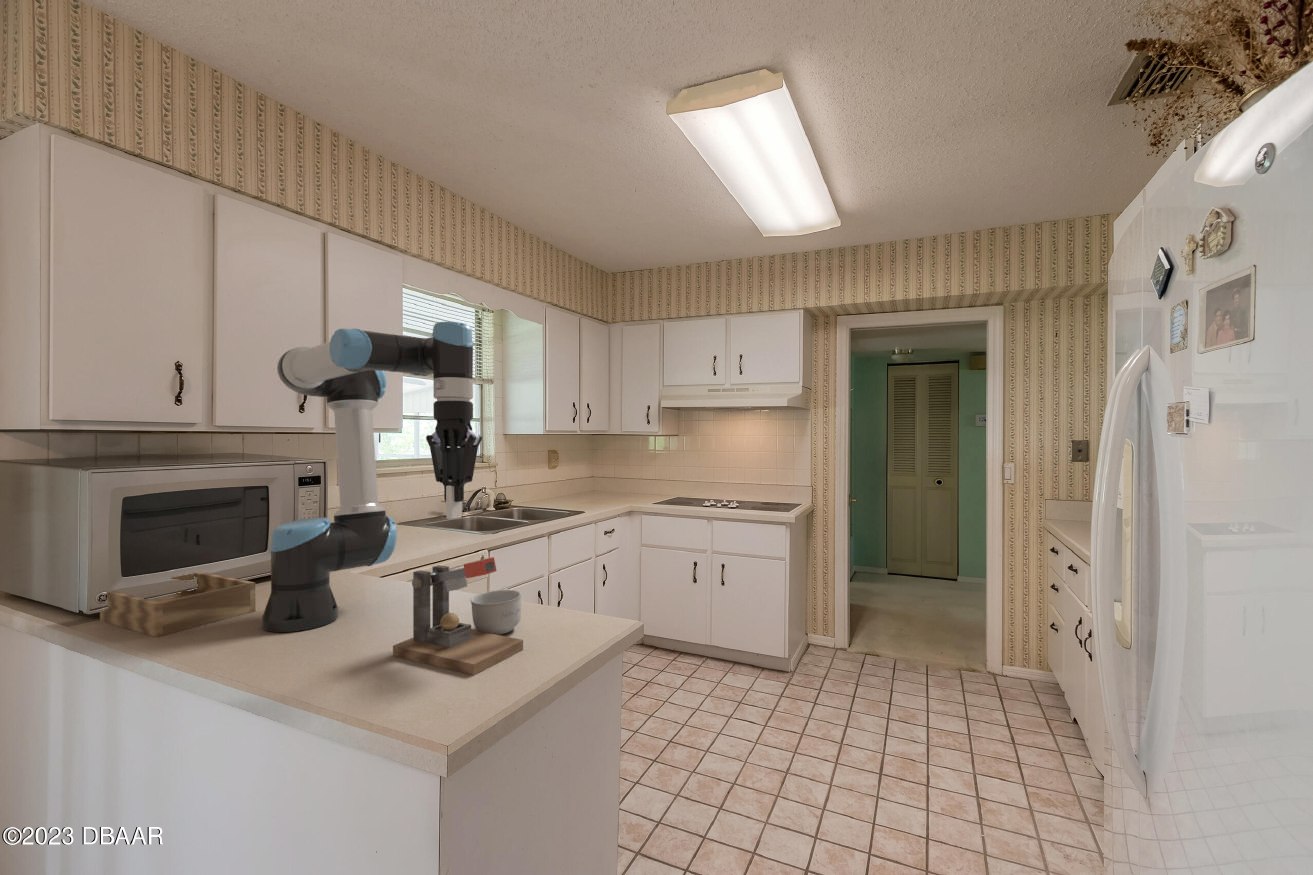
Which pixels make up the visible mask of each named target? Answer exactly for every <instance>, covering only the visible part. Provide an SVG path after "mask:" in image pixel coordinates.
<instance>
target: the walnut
mask: <svg viewBox="0 0 1313 875" xmlns="http://www.w3.org/2000/svg"><path fill="white" fill-rule="evenodd" d="M459 623H460V618H459V617H458V615H457V614H456V613H454V612H449V613H447V614H445V615H444V616H443V617H442V618H441V621H440V625H441V628H442V629H443V630H445V631H453V630H455V629H456V628H457V626H458V624H459Z"/></svg>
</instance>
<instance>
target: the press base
mask: <svg viewBox="0 0 1313 875" xmlns="http://www.w3.org/2000/svg"><path fill="white" fill-rule="evenodd" d="M435 571H438V572H439V573H441V572H446V571H450V566H446V565H439V564H438V565H435V566H434V565H433V566H432V572H435ZM430 573H431V571H427V570H423V569H422V570H420V569H419V570H416V571H413V572H412V575H413V576H412V578H413V579H412V581H411V584H412V588H413V589H412V591H413V593H412V594H413V595H412V596H413V597H412V598H413V599H412V600H413V601H412V602H413V603H412V604H413V608H412V610H413V611H412V613H413V614H412V615H413V616H412V617H413V618H412V619H413V620H412V622H413V624H412V625H413V626H412V628H413V629H412V630H413V631H412V632H413V635H412V636H413V637H412V638H408V639H406V640H404V641H401V642H399V643H396V644H394V645H392V656H393V657H397V658H401V659H406V660H410V661H414V662H418V663H422V664H426V665H430V666H434V667H439V668H443V669H448V670H451V671H453V672H454V671H455V672H459V673H463V674H468V675H471V676H472V675H473V676H476V675H478V674H480V673H481V672H483V671H485V670H487V669H489V668H491V667H493V666H495V665H497V664H499V663H500V662H502V661H504V660H507V659H508V658H510V657H512V656H514V655H515V654H518V653H520V652H522V651H523V650H524V640H523V639H519V638H517V637H516V638H515V637H510V636H505V635H501V634H500V635H495V634H490V633H485V632H481V631H479V630H474V629H472V624H469V623H463V622H459V624H458V626H457V628H456V629H455V630H453V631H445V630H443V629H442V628H441V625H440V621H441V618H442V617H443V616H444V615H445V614H447V613H450V591H447V589H446V584H445V581H441V582H440V583H438V584H435V585H432V627H431V586H430Z"/></svg>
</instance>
